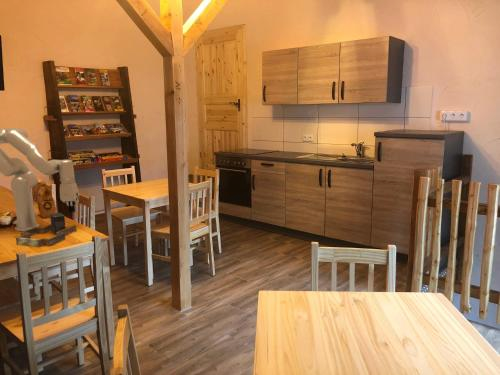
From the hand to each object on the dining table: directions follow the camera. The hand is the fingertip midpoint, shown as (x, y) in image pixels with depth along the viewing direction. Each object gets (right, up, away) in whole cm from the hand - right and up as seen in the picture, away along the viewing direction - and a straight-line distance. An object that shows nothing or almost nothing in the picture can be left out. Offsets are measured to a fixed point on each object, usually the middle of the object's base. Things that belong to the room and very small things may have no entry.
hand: (72, 212), depth 246 cm
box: (-4, -11, -8) cm, 15 cm away
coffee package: (-27, -4, +26) cm, 37 cm away
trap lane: (-6, -13, -16) cm, 21 cm away
